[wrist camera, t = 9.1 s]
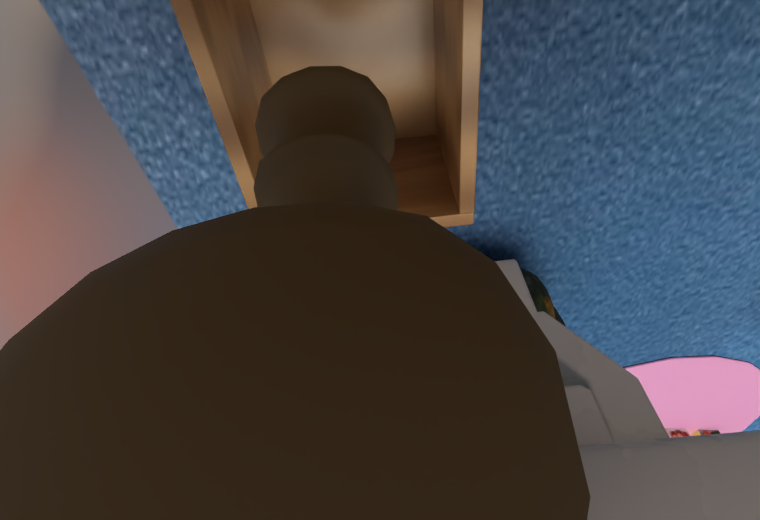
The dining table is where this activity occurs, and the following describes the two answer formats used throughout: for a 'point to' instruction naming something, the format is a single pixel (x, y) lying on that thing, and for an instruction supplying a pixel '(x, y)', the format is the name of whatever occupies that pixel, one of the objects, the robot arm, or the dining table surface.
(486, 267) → the kendama
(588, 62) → the dining table surface
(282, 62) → the caddy
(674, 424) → the platter
